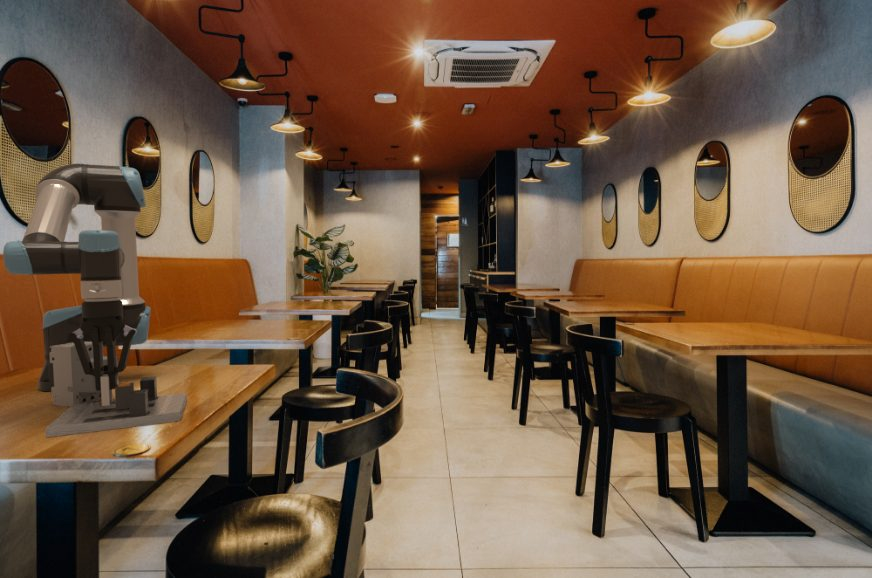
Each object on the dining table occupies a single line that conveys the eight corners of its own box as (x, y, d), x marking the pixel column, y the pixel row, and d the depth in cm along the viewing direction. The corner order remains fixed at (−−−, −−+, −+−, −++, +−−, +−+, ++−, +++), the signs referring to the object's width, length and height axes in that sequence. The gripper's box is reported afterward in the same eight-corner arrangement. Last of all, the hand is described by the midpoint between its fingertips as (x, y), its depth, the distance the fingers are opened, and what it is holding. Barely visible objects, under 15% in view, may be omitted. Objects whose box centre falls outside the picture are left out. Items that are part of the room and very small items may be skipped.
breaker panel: (72, 413, 114) (71, 384, 114) (186, 400, 123) (185, 373, 123) (46, 437, 98) (44, 403, 97) (179, 420, 107) (178, 389, 107)
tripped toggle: (119, 405, 112) (118, 382, 111) (134, 403, 113) (133, 380, 112) (115, 409, 108) (114, 385, 108) (131, 407, 109) (130, 384, 109)
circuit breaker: (99, 407, 119) (96, 347, 118) (52, 405, 121) (49, 346, 121) (125, 399, 126) (122, 342, 125) (79, 397, 129) (76, 341, 128)
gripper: (61, 302, 102) (66, 412, 103) (132, 299, 107) (137, 404, 108) (72, 300, 109) (77, 403, 110) (139, 297, 114) (143, 396, 115)
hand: (107, 403), depth 109 cm, fingers closed
